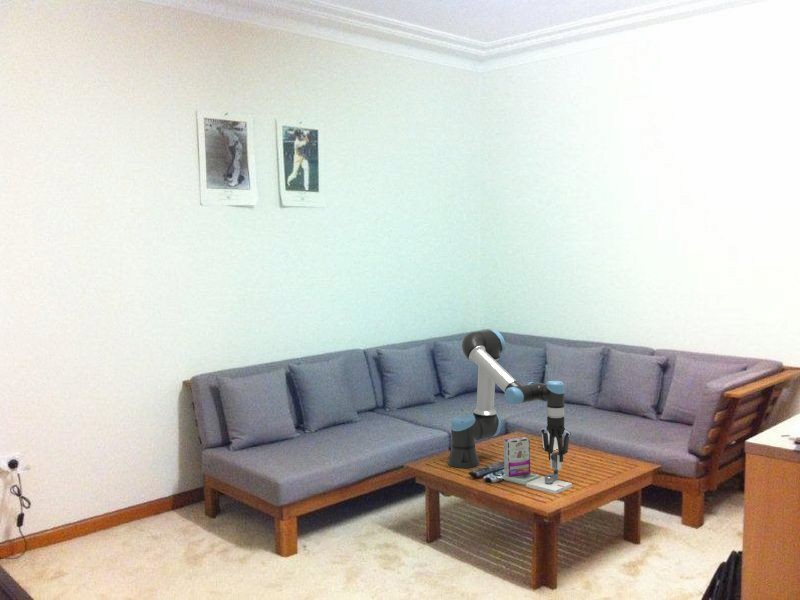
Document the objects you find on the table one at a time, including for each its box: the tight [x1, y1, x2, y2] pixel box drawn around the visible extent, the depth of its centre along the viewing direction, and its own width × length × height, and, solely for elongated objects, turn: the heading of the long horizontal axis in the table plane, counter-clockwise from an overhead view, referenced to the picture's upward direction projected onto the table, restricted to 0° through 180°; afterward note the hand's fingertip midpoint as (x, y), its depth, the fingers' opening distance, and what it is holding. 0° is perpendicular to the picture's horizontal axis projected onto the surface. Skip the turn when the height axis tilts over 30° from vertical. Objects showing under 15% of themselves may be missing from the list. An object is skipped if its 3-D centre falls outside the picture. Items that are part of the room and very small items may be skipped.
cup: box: [541, 432, 558, 451], centre depth 377 cm, size 10×10×10 cm
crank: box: [544, 451, 559, 484], centre depth 319 cm, size 11×4×11 cm, turn 142°
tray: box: [498, 472, 541, 487], centre depth 328 cm, size 17×11×2 cm, turn 45°
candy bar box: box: [503, 436, 531, 477], centre depth 328 cm, size 11×5×16 cm, turn 111°
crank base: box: [525, 476, 573, 495], centre depth 317 cm, size 15×13×2 cm
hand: (555, 468), depth 322 cm, fingers closed on crank, 3 cm apart
